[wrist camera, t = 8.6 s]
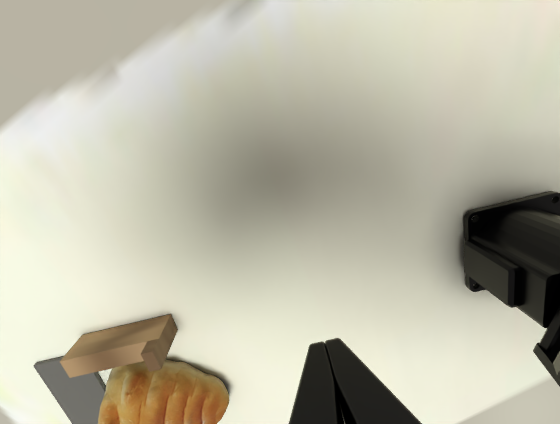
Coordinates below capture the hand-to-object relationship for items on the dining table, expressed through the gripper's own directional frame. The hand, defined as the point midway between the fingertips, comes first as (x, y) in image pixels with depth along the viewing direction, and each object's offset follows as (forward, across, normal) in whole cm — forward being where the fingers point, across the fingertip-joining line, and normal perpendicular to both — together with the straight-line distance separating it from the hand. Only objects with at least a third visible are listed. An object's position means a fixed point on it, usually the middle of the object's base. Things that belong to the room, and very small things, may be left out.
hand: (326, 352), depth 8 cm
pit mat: (+12, +20, +14) cm, 27 cm away
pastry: (+12, +13, +12) cm, 22 cm away
